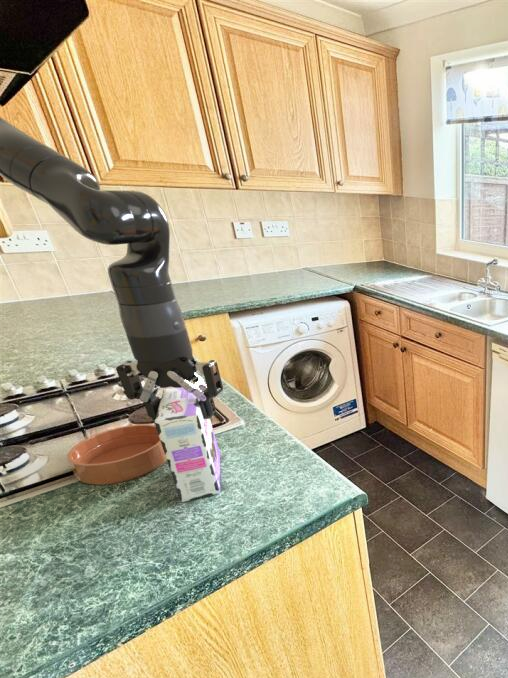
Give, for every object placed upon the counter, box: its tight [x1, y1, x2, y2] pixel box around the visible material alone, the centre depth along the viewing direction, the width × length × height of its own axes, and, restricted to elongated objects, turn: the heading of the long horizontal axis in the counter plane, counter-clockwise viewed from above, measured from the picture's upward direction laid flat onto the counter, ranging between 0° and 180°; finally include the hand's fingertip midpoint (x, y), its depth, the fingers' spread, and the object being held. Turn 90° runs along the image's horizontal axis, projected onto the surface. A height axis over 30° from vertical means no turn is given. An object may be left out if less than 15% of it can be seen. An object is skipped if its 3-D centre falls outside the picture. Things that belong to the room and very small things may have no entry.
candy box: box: [154, 387, 221, 503], centre depth 75 cm, size 14×6×16 cm, turn 32°
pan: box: [66, 423, 167, 486], centre depth 81 cm, size 14×14×4 cm
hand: (184, 417), depth 73 cm, fingers closed on candy box, 7 cm apart
